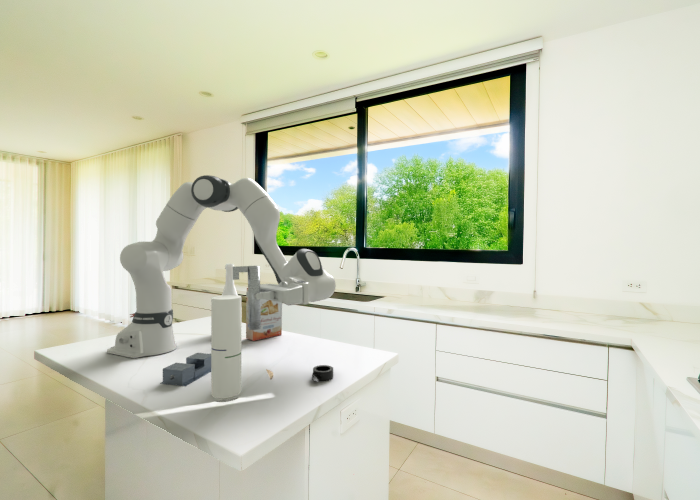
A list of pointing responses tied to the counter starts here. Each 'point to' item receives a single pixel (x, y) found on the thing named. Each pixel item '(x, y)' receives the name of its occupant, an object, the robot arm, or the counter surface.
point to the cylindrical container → (225, 346)
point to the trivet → (270, 373)
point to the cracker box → (266, 320)
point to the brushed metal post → (251, 294)
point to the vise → (187, 370)
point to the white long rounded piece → (230, 284)
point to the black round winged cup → (322, 373)
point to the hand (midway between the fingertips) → (251, 295)
